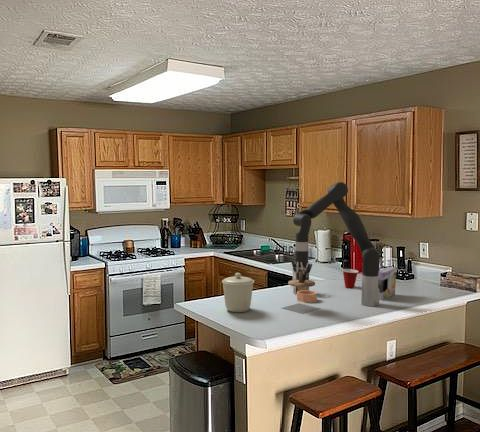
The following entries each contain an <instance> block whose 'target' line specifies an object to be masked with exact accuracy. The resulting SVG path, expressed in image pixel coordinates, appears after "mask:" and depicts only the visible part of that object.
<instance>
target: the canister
mask: <svg viewBox="0 0 480 432" xmlns="http://www.w3.org/2000/svg"><path fill="white" fill-rule="evenodd" d="M221 283H222V288H223V295H224V304H225V308H226V310H227V311H228V312H231V313H244V312H248V311H249V309H250V308H251V306H252V305H251V304H252V296H253V288H254V286H253V285H254V284H255V280H254V279H252V278H251V277H247V276H243V275H242V273H240V272H235V274H234V275H233V276H229V277H226V278H224V279H222V280H221Z"/></svg>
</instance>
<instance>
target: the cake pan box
mask: <svg viewBox="0 0 480 432" xmlns="http://www.w3.org/2000/svg"><path fill="white" fill-rule="evenodd" d="M396 283H397V267H393V266H388V267H387V268H385V267H384V268H382V269H379V275H378V288H379V289H380V292H379V301H383V300H385V299H388V298H390V297H392V296H395V295H396Z"/></svg>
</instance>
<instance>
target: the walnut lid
mask: <svg viewBox="0 0 480 432" xmlns="http://www.w3.org/2000/svg"><path fill="white" fill-rule="evenodd" d="M288 285H289V286H291V287H293V286H295V287H309V288H310V287H313V286H316V282H315V281H314V280H312V279H309V280H306V281H303V272H302V271H299V280H293V279H291V280H288Z"/></svg>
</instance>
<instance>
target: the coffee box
mask: <svg viewBox="0 0 480 432" xmlns="http://www.w3.org/2000/svg"><path fill="white" fill-rule="evenodd" d="M295 269H296V268H295ZM301 271H302V269H301ZM292 280H297V273H296V272H294V269H293V268H292ZM306 280H310V273H308V274H307V279H306ZM301 290H310V287H295V286H292V293H293V295H295V294H297V291H301Z"/></svg>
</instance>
